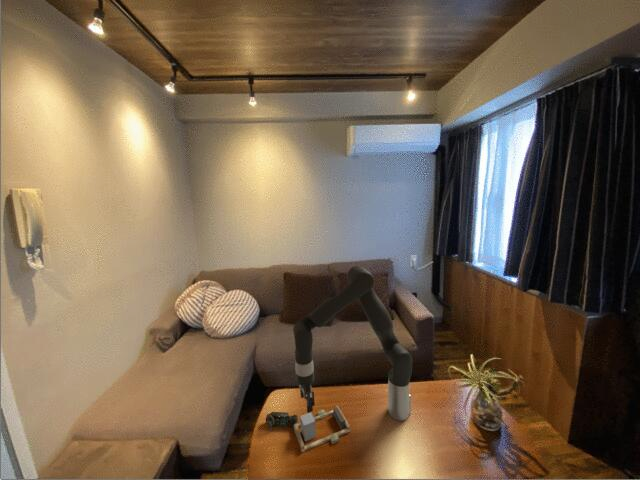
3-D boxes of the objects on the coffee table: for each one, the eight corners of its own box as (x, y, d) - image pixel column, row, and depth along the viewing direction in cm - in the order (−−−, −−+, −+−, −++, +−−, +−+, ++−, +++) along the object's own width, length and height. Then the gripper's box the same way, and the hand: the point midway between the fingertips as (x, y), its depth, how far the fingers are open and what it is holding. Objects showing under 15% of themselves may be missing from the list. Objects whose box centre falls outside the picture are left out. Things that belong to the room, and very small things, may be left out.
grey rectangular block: (312, 427, 113) (311, 412, 111) (316, 437, 108) (315, 421, 107) (301, 431, 111) (300, 416, 110) (305, 441, 106) (303, 425, 105)
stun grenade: (297, 421, 117) (268, 420, 118) (297, 408, 116) (267, 407, 118) (295, 433, 110) (263, 431, 112) (294, 419, 110) (263, 418, 111)
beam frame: (336, 406, 123) (335, 399, 123) (352, 435, 108) (352, 427, 108) (292, 423, 115) (291, 415, 115) (303, 456, 100) (303, 448, 100)
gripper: (319, 377, 99) (321, 414, 102) (307, 357, 112) (309, 389, 115) (301, 383, 96) (303, 420, 99) (291, 361, 109) (293, 395, 112)
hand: (306, 404), depth 107 cm, fingers open, 8 cm apart
